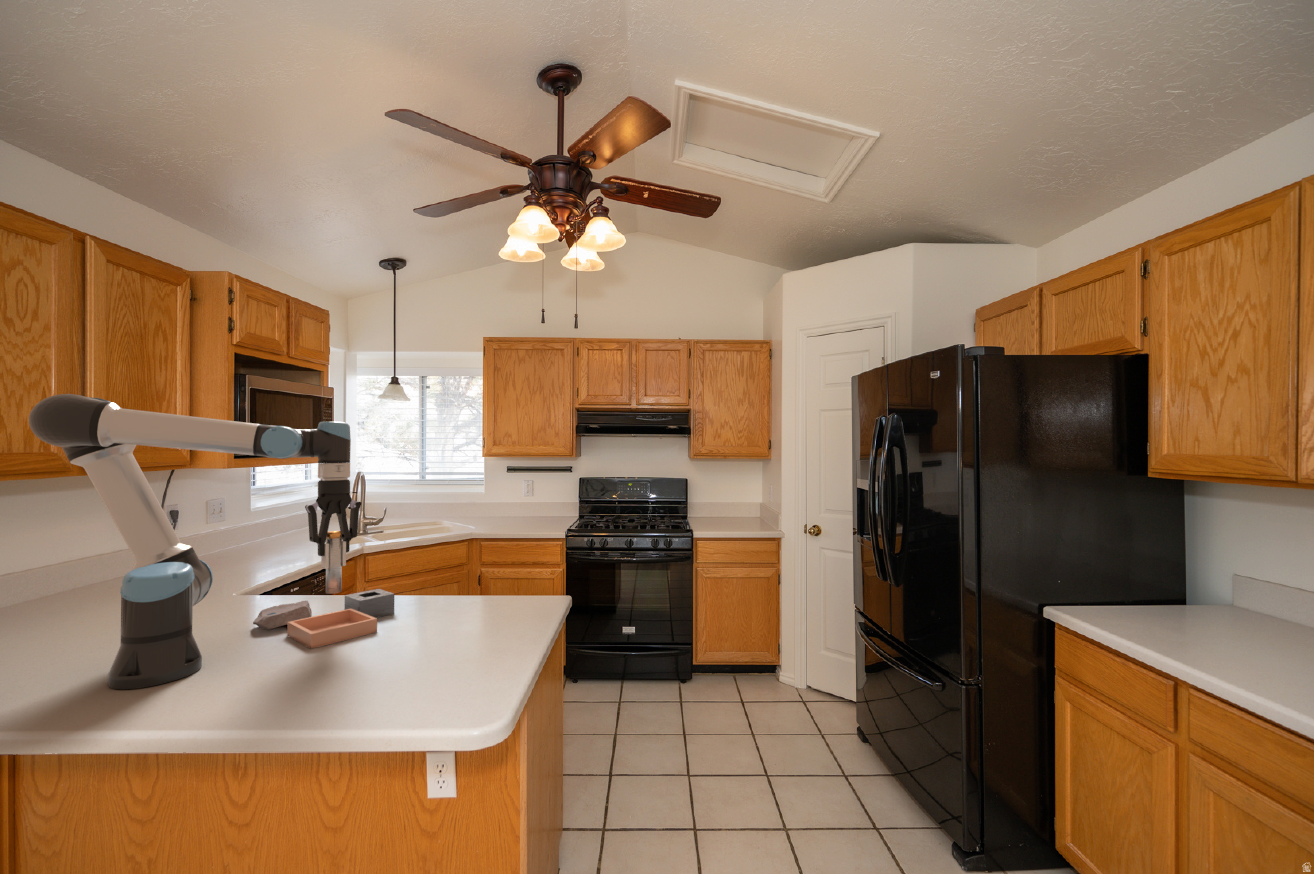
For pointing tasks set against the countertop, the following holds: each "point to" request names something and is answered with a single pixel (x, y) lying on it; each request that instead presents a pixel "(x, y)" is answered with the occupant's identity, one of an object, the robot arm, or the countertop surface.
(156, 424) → the robot arm
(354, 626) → the tray
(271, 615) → the decorative stone
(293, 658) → the countertop surface
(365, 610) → the block
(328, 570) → the pin
